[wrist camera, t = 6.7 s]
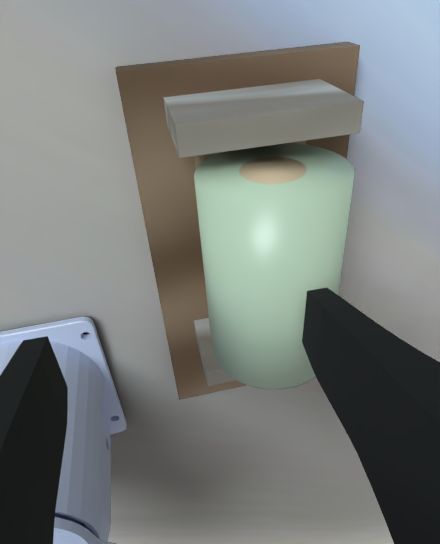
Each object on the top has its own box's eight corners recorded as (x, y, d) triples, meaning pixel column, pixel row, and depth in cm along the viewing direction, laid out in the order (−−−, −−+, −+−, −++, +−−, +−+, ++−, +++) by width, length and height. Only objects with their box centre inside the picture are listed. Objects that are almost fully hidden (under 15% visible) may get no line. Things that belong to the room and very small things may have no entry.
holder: (315, 357, 27) (346, 415, 23) (177, 386, 26) (187, 452, 22) (347, 41, 16) (413, 61, 13) (115, 67, 15) (117, 95, 12)
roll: (301, 294, 21) (353, 371, 17) (200, 316, 20) (229, 403, 16) (312, 134, 16) (388, 187, 12) (181, 154, 15) (215, 219, 11)
